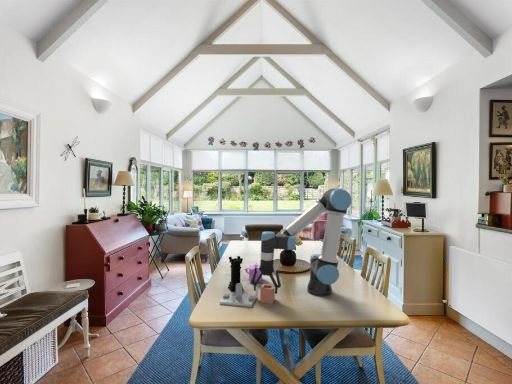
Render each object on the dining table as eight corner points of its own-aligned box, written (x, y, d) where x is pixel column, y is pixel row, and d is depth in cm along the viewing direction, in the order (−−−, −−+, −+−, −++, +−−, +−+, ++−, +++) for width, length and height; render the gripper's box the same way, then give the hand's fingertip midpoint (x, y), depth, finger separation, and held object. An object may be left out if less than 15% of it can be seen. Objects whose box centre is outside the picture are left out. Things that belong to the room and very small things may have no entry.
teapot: (270, 281, 193) (270, 265, 193) (255, 285, 185) (255, 269, 185) (256, 275, 205) (256, 261, 205) (241, 279, 197) (241, 264, 197)
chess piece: (227, 287, 181) (227, 256, 180) (239, 286, 184) (239, 255, 183) (231, 292, 173) (231, 259, 173) (243, 290, 176) (243, 258, 176)
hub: (274, 298, 164) (274, 285, 163) (272, 303, 157) (272, 289, 157) (262, 297, 165) (262, 284, 165) (260, 302, 158) (260, 288, 158)
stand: (256, 297, 165) (257, 281, 165) (251, 307, 152) (251, 289, 151) (227, 294, 169) (227, 279, 169) (219, 304, 156) (219, 287, 155)
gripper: (287, 259, 162) (285, 297, 162) (249, 255, 167) (248, 292, 167) (285, 262, 154) (283, 302, 155) (246, 258, 159) (244, 297, 160)
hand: (265, 297), depth 161 cm, fingers open, 10 cm apart
